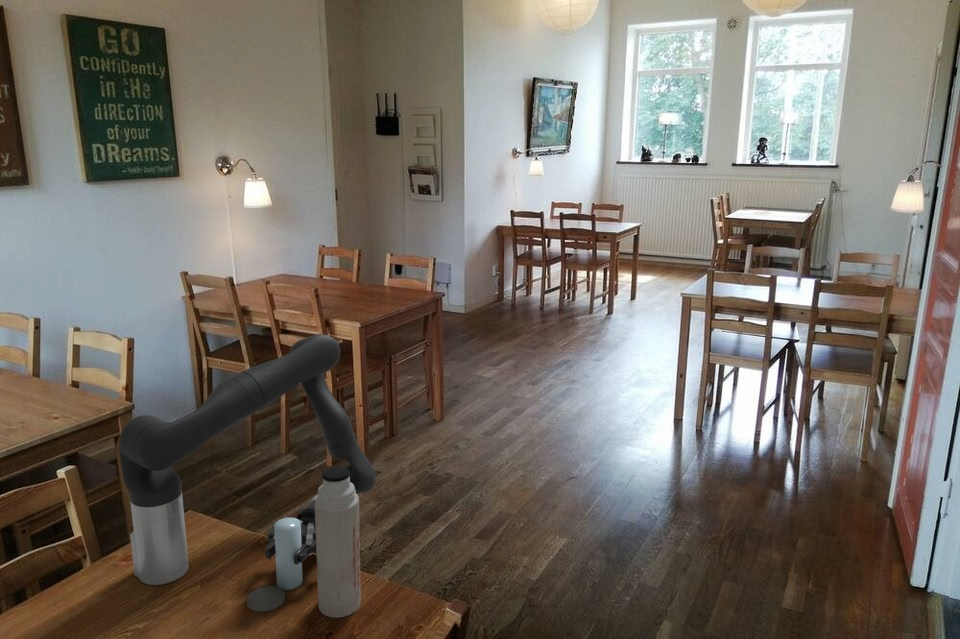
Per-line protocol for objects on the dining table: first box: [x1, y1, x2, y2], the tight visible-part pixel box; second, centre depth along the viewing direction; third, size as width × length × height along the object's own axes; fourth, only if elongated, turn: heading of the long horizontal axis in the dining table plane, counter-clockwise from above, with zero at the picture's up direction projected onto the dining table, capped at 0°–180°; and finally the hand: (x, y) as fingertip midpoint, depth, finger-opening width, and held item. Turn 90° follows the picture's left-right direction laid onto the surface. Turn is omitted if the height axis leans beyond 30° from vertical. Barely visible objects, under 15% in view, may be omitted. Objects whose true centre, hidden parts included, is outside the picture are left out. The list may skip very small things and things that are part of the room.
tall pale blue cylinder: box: [273, 517, 304, 591], centre depth 135 cm, size 5×5×13 cm
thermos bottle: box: [315, 465, 362, 619], centre depth 127 cm, size 8×8×28 cm
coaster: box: [246, 585, 286, 613], centre depth 131 cm, size 7×7×1 cm
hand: (281, 557), depth 132 cm, fingers open, 5 cm apart
